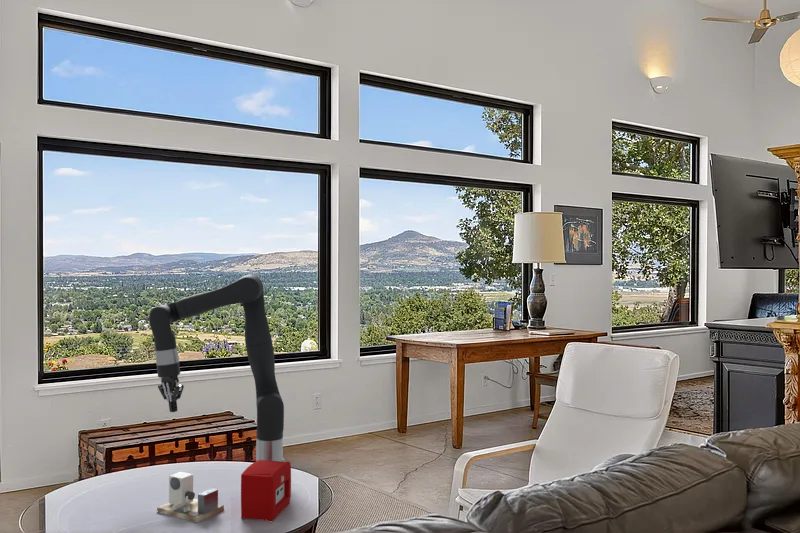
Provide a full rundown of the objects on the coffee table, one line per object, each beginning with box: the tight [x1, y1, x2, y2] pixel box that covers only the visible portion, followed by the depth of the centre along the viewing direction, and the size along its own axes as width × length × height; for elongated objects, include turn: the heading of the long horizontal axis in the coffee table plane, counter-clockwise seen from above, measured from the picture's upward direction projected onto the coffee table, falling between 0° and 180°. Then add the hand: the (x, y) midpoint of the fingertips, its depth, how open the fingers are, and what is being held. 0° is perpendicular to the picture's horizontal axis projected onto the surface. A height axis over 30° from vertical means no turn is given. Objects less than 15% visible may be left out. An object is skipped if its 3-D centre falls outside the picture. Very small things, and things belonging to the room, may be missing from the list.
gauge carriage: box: [168, 471, 196, 510], centre depth 239 cm, size 8×8×9 cm
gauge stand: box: [156, 497, 225, 523], centre depth 240 cm, size 17×12×2 cm
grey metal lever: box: [184, 496, 190, 512], centre depth 234 cm, size 1×2×5 cm, turn 152°
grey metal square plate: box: [197, 487, 219, 514], centre depth 236 cm, size 2×6×6 cm, turn 153°
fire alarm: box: [240, 460, 292, 522], centre depth 240 cm, size 16×11×15 cm
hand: (173, 411), depth 260 cm, fingers closed
